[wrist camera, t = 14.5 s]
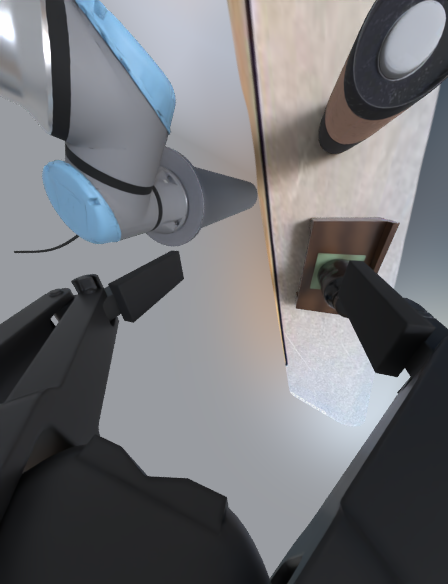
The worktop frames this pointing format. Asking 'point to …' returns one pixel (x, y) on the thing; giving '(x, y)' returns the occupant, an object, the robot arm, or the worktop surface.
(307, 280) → the wooden plaque with label
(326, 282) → the supplement bottle
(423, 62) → the travel mug
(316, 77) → the worktop surface
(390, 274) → the worktop surface
